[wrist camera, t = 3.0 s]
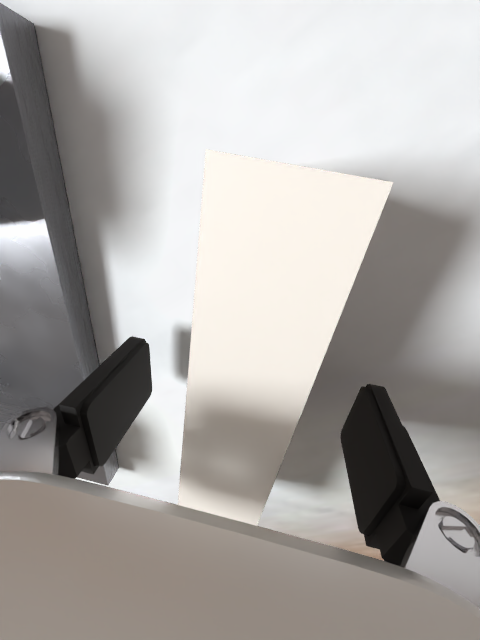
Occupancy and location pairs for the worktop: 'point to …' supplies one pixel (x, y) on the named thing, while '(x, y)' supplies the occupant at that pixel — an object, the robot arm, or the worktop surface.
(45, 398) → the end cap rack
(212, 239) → the slat
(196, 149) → the worktop surface
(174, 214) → the worktop surface
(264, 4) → the worktop surface
